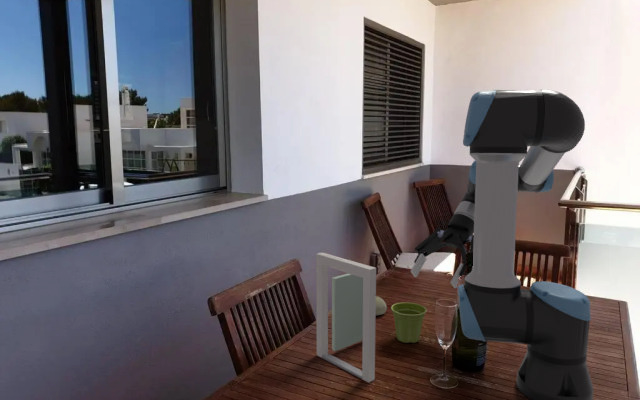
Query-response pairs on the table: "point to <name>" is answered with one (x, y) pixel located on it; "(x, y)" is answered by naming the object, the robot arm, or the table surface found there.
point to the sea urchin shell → (380, 306)
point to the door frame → (368, 312)
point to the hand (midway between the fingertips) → (432, 279)
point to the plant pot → (408, 321)
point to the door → (347, 311)
